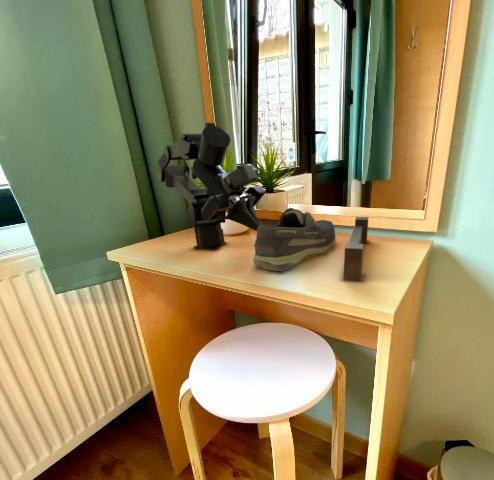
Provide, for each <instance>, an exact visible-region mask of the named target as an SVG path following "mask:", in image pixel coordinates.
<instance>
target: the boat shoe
mask: <svg viewBox="0 0 494 480" xmlns="http://www.w3.org/2000/svg"><path fill="white" fill-rule="evenodd" d="M277 221H278V222H277V224H263V225H262V224H260V225H261V226H258V227H257V231H256V237H255V241H254V244H253V247H254V255H253V264H254V266H256V267H258V268H262V269H265V270H268V271H270V270H271V271H275V272H280V271H282V272H283V271H286V270H290V269H292V268H294V267H296V266H297V265H298V264H300V263H301V262H303V261H304V260H305V259H308V258H311V257H315V256H321V255H323V254H326V253H327V252H329V251H330V250H331V249H332V248H333V247H334V246H335V243H336V237H337V236H336V229H335V226H334V223H333V222H332V221H330V220H325V219H324V220H323V219H321V220H315V218H314V217H313V216H312V213H311V212H308V211H305V212H303V211H301V210H299V209H296V208H292V207H289V208H287V209H285V210H284V211H283V213H281V215H280V217H279V218H278V220H277Z"/></svg>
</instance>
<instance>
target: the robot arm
mask: <svg viewBox="0 0 494 480" xmlns="http://www.w3.org/2000/svg"><path fill="white" fill-rule="evenodd" d="M230 144H231V136H230V134H229V133H227V132H226V131H225V130H224V129H222V128H221V127H218V126H216V123H215V122H204V128H203V129H202V133H182V134H180V136H179V137H178V142H175V143H172V144H166V145H164V147H163V154H162V155H161V156H160V158H159V159H158V160H157V177H158V180H159V182H160V183H161V184H162V185H163V186H164V187H166V188H173V189H175V190H176V192H178V193H179V194H180V195H181V196H182V197H183V198H184V200H185V201H186V202H187V203H188V209H187V213H186V220H187V223H188V225H189V226H190V227H192V228H193V230H194V235H195V240H196V241H195V242H196V245H195V246H193V249H194V250H205V251H216V250H218V249H220V248H222V247H223V246H225V245H226V244H227V242H226V241H225V236H224V228H222V224H226V220H229V221H232V222H234V223H237V224H239V225H241V226H242V225H243V226H245V227H247V228H249V229H251V230H254V231H256V232H257V227H258V226H261V225H262V224H261V222H260V220H259V218H258V215H257V214H256V211H255V207H256V205H257V204H258V203H259V202H260V200H261V199H262V198H263V197H264V196H265V194H266V192H267V191H266V190H265V189H264V188H263V187H262V185H255V186H254V185H253V186H249V187H247V185H248V184H250V183H252V182H254V181H257V180H258V174H259V173H258V172H259V169H258V168H256V167H255V165H254V164H253V165H252V163H246V164H245V165H241V166H239V167H237V168H236V169H234V170H233V171H231V172H226V170H225V169H223V167H222V166H221V165H223V164H224V162H225V159H226V156H227V154H228V150H229V147H230ZM180 160H181V161H183V163H182V164H180V163H179V164H171V161H180ZM188 161H193V163H192V166H191V167H190V166H189V164H188ZM190 171H191V178H192V179H191V178H190ZM196 179H198V180H199V181H200V182H201V184H203V185H204V187H205V188H200V186H199V185H197V184H196V183H195V182H194V181H193V180H196Z"/></svg>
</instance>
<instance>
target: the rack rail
mask: <svg viewBox="0 0 494 480" xmlns="http://www.w3.org/2000/svg"><path fill="white" fill-rule="evenodd" d="M368 230H369V216H356V217H355V219H354V227H353V230H352V233H351V234H350V235H351V236H350V238H349V241H348V242H347V243H346V244H345V246H344V260H343V261H344V262H343V281H352V282H361V281H362V275H363V259H364V246H365V245H367V244H368Z"/></svg>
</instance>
